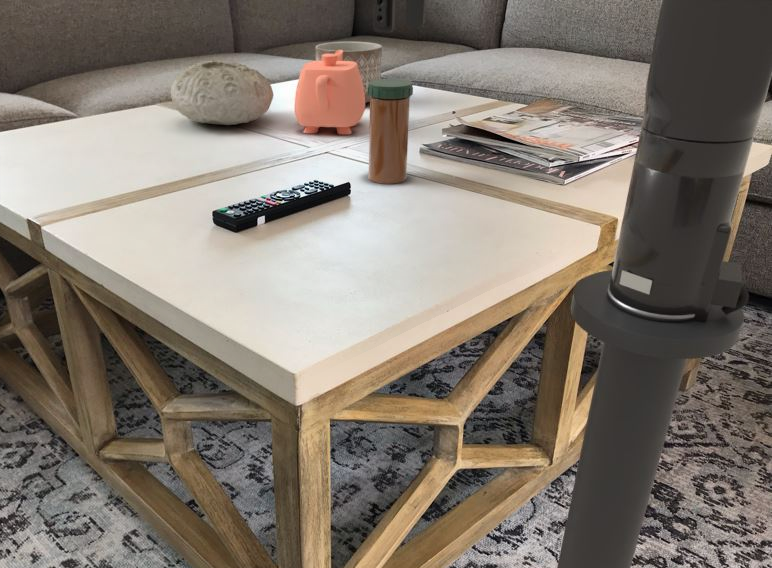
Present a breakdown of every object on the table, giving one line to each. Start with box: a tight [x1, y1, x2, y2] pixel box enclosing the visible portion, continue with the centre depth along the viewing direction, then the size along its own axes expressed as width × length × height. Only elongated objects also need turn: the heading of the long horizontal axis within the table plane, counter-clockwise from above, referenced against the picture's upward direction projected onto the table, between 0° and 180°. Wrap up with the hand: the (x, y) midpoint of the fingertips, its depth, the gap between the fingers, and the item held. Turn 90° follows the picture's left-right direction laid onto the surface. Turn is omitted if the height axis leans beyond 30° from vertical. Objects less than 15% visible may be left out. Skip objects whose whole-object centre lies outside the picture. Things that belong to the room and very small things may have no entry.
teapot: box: [294, 50, 366, 135], centre depth 125 cm, size 20×12×12 cm, turn 170°
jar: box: [368, 96, 411, 185], centre depth 99 cm, size 5×5×12 cm
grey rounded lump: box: [169, 59, 274, 126], centre depth 129 cm, size 18×18×10 cm
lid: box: [368, 78, 414, 99], centre depth 96 cm, size 6×6×2 cm
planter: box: [314, 41, 383, 104], centre depth 143 cm, size 13×13×10 cm
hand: (399, 29), depth 82 cm, fingers open, 8 cm apart
